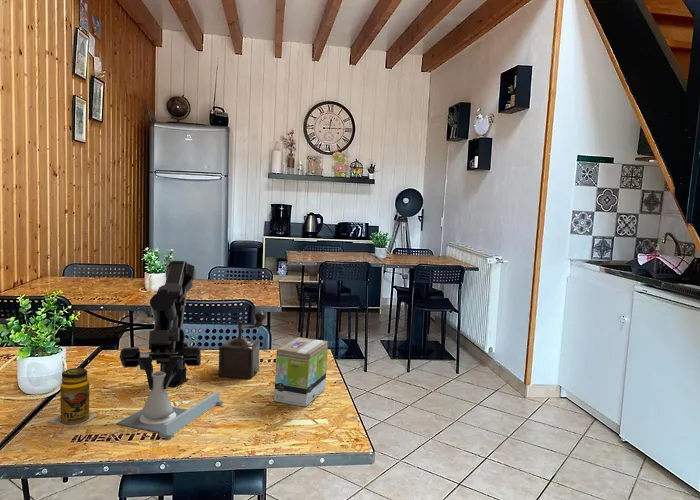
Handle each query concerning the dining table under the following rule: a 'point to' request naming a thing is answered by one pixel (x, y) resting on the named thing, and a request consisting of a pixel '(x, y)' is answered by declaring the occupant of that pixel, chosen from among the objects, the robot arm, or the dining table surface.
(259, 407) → the dining table surface
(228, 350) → the dark wooden grinder box
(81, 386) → the condiment
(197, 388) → the dining table surface
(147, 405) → the flask
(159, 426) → the resting mat
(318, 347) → the tea box
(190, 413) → the grey footed bar
